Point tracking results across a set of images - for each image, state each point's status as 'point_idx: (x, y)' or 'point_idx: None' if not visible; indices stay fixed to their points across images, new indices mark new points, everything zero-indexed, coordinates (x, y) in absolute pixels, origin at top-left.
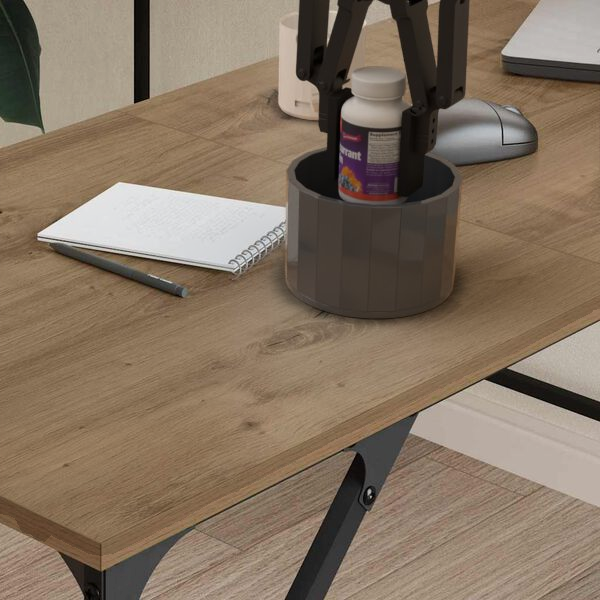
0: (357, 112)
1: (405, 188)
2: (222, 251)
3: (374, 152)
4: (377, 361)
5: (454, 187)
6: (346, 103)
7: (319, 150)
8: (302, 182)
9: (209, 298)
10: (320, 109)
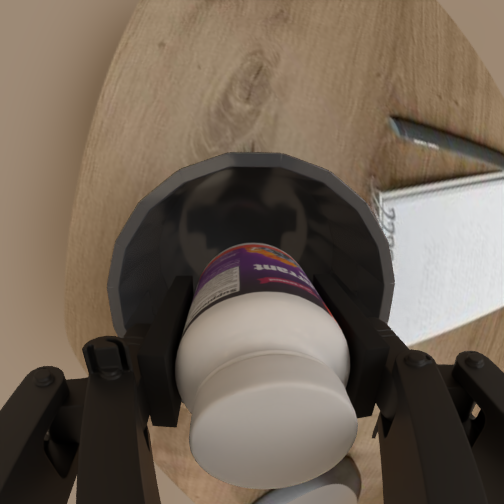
0: (284, 314)
1: (176, 281)
2: (409, 230)
3: (224, 278)
4: (150, 99)
5: (117, 323)
6: (337, 349)
7: None
8: (367, 281)
9: (369, 126)
10: (395, 338)
